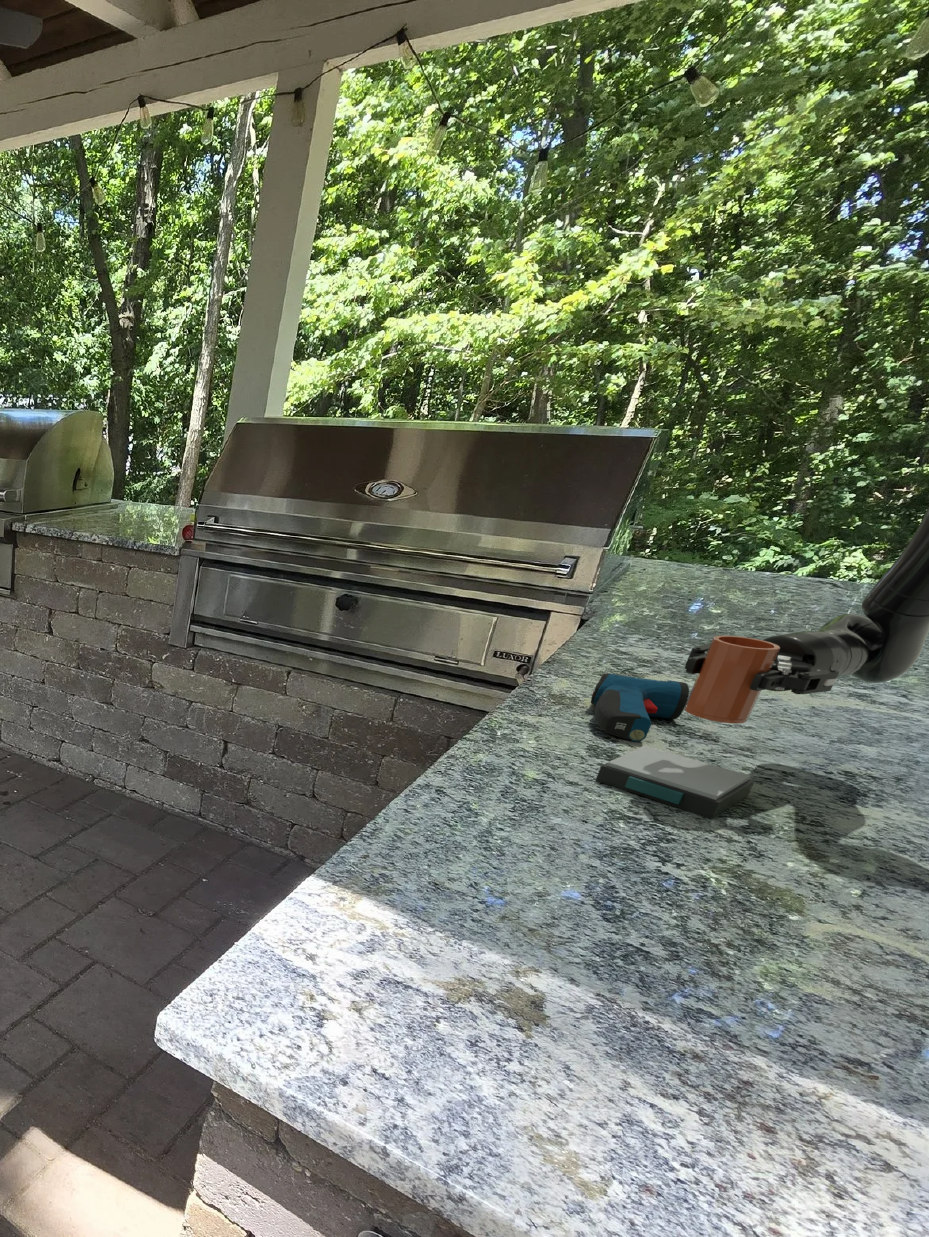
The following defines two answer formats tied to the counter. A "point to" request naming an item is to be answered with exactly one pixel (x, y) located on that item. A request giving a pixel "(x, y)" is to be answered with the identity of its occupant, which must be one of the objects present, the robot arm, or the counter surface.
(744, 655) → the cup
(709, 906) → the counter surface
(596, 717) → the infrared thermometer
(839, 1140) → the counter surface
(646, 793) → the scale
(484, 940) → the counter surface
